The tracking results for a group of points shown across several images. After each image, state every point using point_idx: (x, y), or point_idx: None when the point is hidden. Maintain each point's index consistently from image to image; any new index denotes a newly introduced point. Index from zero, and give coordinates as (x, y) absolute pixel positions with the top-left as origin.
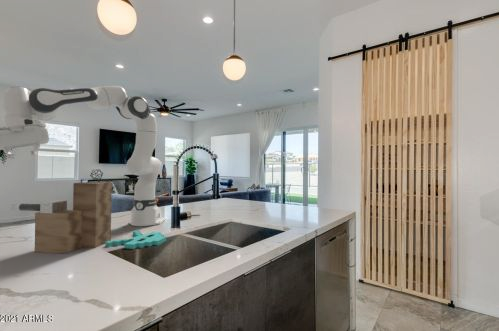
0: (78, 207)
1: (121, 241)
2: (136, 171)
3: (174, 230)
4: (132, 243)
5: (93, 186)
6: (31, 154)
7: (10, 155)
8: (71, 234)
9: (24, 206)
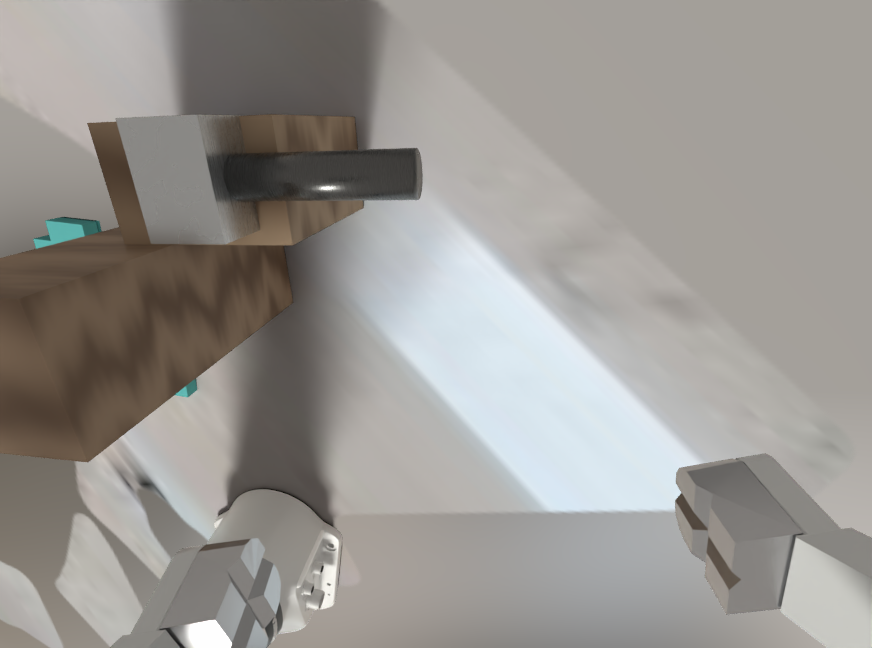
0: (132, 248)
1: None
2: None
3: (113, 444)
4: (60, 232)
5: None
6: (246, 541)
7: (714, 504)
8: None
9: (374, 152)
